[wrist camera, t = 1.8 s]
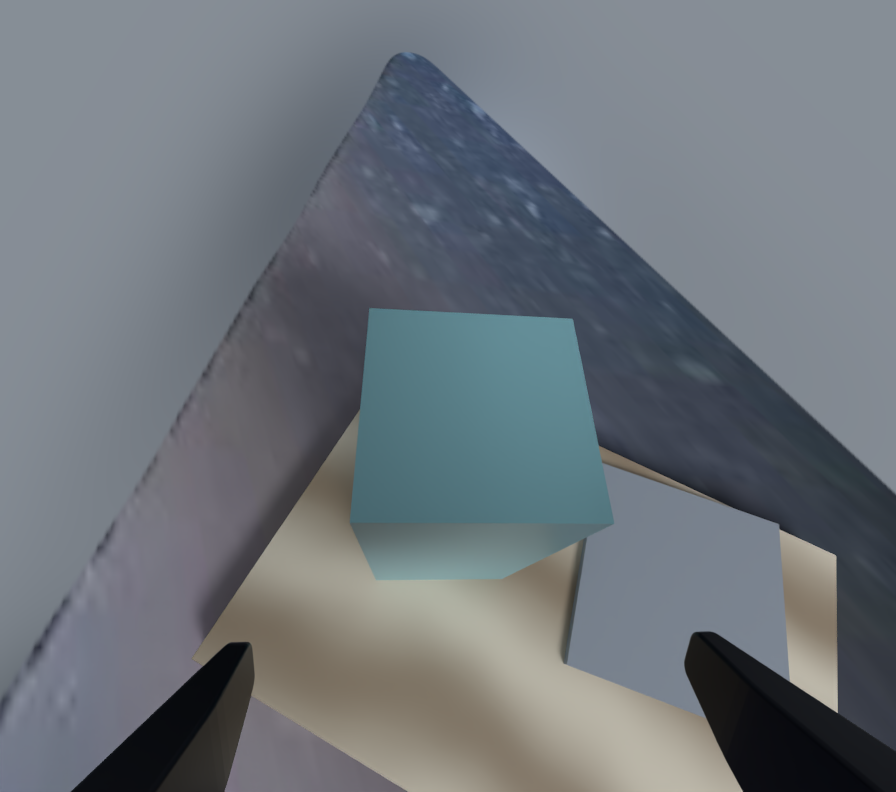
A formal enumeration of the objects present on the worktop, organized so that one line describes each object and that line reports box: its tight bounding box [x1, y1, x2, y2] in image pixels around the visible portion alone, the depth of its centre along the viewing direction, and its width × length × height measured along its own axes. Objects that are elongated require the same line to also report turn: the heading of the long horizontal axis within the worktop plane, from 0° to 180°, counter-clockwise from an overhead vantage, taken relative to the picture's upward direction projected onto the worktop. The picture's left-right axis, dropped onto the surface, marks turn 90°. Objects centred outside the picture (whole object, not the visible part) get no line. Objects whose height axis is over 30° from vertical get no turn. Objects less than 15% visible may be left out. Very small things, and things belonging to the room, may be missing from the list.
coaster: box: [564, 463, 790, 718], centre depth 19 cm, size 9×9×1 cm
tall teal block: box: [350, 308, 614, 580], centre depth 15 cm, size 5×5×11 cm
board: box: [192, 410, 838, 792], centre depth 18 cm, size 16×24×3 cm, turn 64°
